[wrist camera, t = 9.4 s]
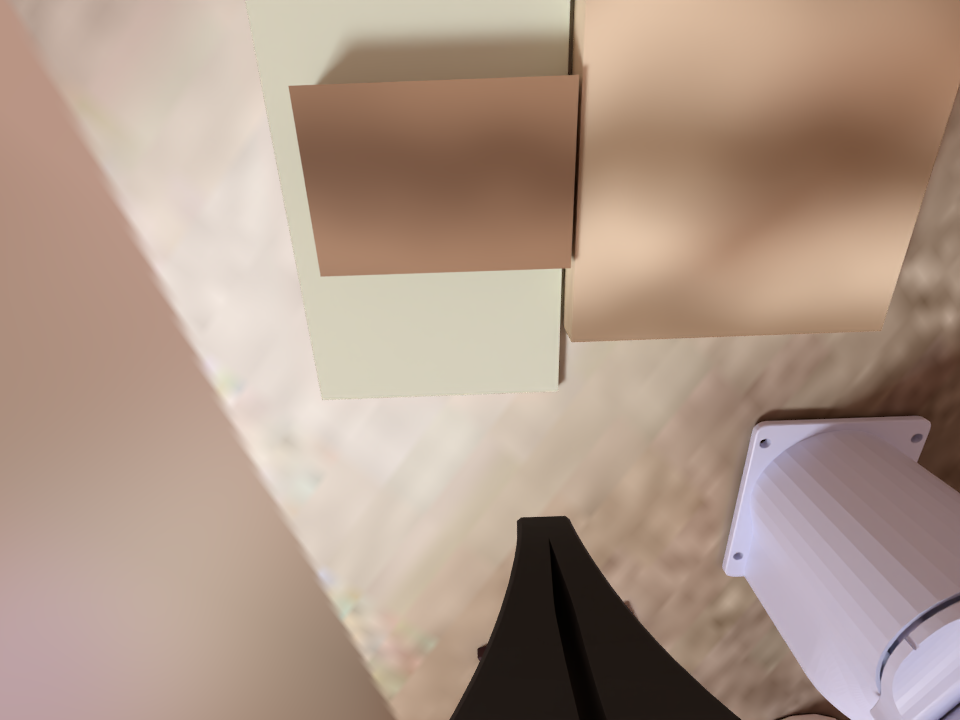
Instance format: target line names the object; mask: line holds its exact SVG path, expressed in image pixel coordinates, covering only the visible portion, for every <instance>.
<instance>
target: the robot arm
mask: <svg viewBox="0 0 960 720" xmlns="http://www.w3.org/2000/svg"><path fill="white" fill-rule="evenodd" d="M930 428H931V423H930V421H928V420H927V419H925V418H923V417H922V416H898V417H869V418H840V419H811V420H782V421H763V422H760V423H758V424H757V425H756V426H755V427H754V428H753V431H752V435H751V440H750V444H749V449H748V453H747V458H746V462H745V467H744V471H743V476H742V480H741V484H740V489H739V493H738V498H737V502H736V507H735V511H734V516H733V520H732V525H731V529H730V534H729V538H728V543H727V547H726V552H725V556H724V561H723V565H722V566H723V570H724V571H725V573H726V574H727V575H728V576H745V578H746V580H747V581H748V583H749V584H750V586H751V588H752V589H753V591H754V592H755V594H756V596H757V597H758V599H759V600H760V602H761V603H762V605H763V607H764V608H765V610H766V611H767V613H768V615H769V616H770V618H771V619H772V621H773V623H774V624H775V626H776V627H777V629H778V631H779V632H780V634H781V635H782V637H783V639H784V640H785V642H786V643H787V645H788V647H789V648H790V650H791V651H792V653H793V655H794V656H795V658H796V659H797V661H798V663H799V664H800V666H801V667H802V669H803V671H804V672H805V674H806V675H807V677H808V678H809V679H810V681H811V682H812V683H813V685H814V686H815V687H816V688H817V690H818V691H819V692H820V693H821V694H822V695H823V696H824V697H825V698H826V699H827V700H828V701H829V702H830V703H831V704H832V705H833V706H834V707H836V708H837V709H838V710H839V711H841V712H842V713H843V714H844V715H846V716H847V717H848V718H850V719H851V720H960V493H959V492H957V491H956V490H955V489H953V488H952V487H950V486H949V485H948V484H946V483H945V482H943V481H942V480H940V479H939V478H938V477H936V476H935V475H933V474H932V473H931V472H929V471H928V470H926V469H925V468H924V467H922V466H921V465H919V464H918V463H917V461H918V459H919V456H920V454H921V451H922V449H923V446H924V444H925V441H926V439H927V436H928V434H929V431H930ZM912 436H913V437H912ZM763 439H766V440H765V441H764V442H763V443H760V442H761V441H762V440H763ZM759 443H760V444H759ZM450 720H741V719H740V718H739V717H737V716H736V715H735V714H734V713H733V712H731V711H730V710H729V709H728V708H727V707H726V706H724V705H723V704H722V703H721V702H720V701H719V700H718V699H716V698H715V697H714V696H713V695H712V694H711V693H709V692H708V691H707V690H706V689H705V688H704V687H703V686H702V685H701V684H700V683H699V682H698V681H697V680H696V679H694V678H693V677H692V676H691V675H690V674H689V673H688V672H687V671H686V670H685V669H684V668H683V667H682V666H681V665H680V664H679V663H678V662H676V661H675V660H674V659H673V658H672V657H671V656H670V655H669V653H668V652H667V651H666V650H665V649H664V648H663V647H662V646H661V645H660V644H659V643H658V642H657V641H656V640H655V639H654V638H653V636H652V635H651V634H650V633H649V632H648V631H647V630H646V629H645V628H644V626H643V625H642V624H641V623H640V622H639V621H638V620H637V618H636V617H635V616H634V615H633V614H632V612H631V611H630V610H629V609H628V607H627V606H626V605H625V604H624V602H623V601H622V600H621V598H620V597H619V596H618V595H617V593H616V592H615V591H614V589H613V588H612V587H611V585H610V584H609V583H608V581H607V580H606V578H605V577H604V575H603V574H602V572H601V571H600V570H599V568H598V567H597V565H596V564H595V562H594V561H593V559H592V558H591V556H590V555H589V553H588V551H587V550H586V548H585V547H584V545H583V543H582V542H581V540H580V538H579V537H578V535H577V533H576V531H575V529H574V527H573V526H572V524H571V522H570V519H568V518H567V517H566V516H554V517H523V518H520V519H519V520H518V521H517V546H516V552H515V558H514V562H513V567H512V571H511V576H510V580H509V584H508V587H507V590H506V594H505V597H504V600H503V603H502V607H501V610H500V613H499V616H498V618H497V621H496V624H495V627H494V629H493V632H492V634H491V637H490V639H489V642H488V644H487V646H486V649H485V651H484V653H483V656H482V658H481V660H480V662H479V665H478V667H477V669H476V671H475V673H474V675H473V677H472V679H471V681H470V683H469V685H468V687H467V689H466V691H465V692H464V694H463V696H462V698H461V700H460V702H459V704H458V706H457V707H456V709H455V711H454V713H453V715H452V716H451V718H450Z"/></svg>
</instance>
